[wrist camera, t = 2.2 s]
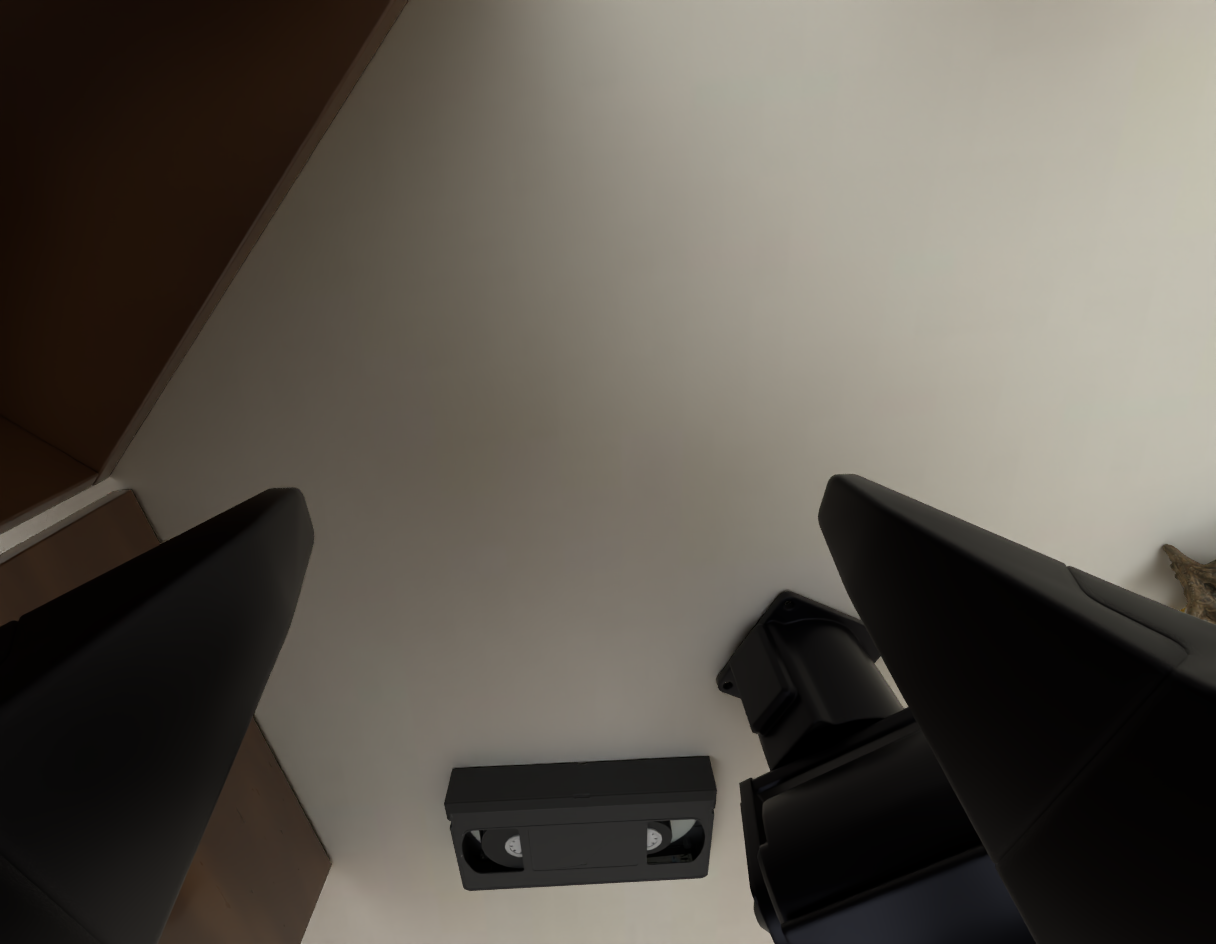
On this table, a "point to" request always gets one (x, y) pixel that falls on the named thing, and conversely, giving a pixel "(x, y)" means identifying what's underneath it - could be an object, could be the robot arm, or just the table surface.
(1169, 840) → the robot arm
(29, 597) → the cupboard door
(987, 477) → the table surface
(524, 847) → the vhs tape
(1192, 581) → the eagle figurine
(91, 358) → the cupboard
